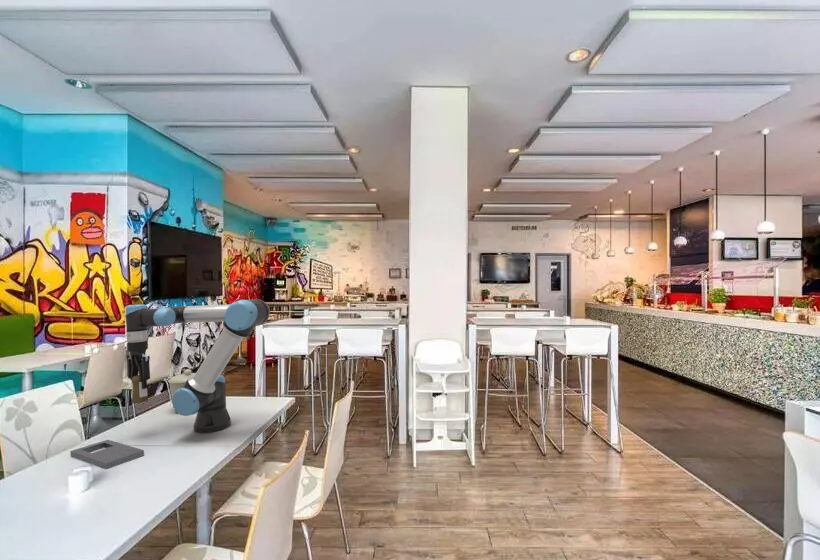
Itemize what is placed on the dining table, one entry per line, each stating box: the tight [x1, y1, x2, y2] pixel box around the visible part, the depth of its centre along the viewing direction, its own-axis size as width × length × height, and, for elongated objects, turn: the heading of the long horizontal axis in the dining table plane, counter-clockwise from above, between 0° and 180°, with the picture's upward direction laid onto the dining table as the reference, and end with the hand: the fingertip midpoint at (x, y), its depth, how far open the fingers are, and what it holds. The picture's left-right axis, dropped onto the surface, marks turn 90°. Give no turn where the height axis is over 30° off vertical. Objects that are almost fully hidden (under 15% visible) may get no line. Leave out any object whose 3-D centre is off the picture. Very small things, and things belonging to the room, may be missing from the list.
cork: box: [131, 374, 149, 404], centre depth 185 cm, size 6×6×11 cm
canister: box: [167, 368, 196, 411], centre depth 223 cm, size 18×18×21 cm
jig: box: [70, 439, 145, 470], centre depth 165 cm, size 26×13×2 cm, turn 60°
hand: (139, 395), depth 185 cm, fingers closed on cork, 5 cm apart
